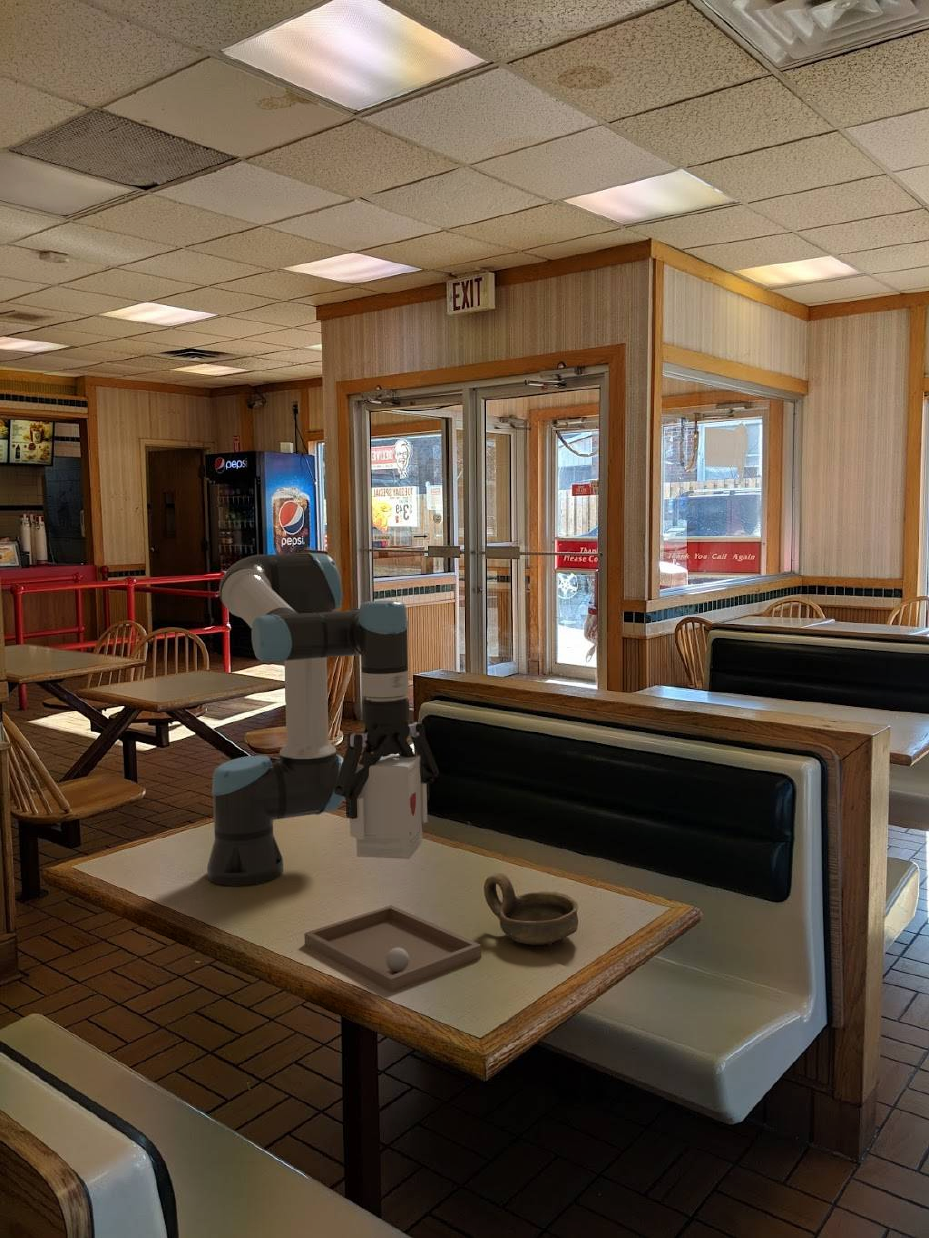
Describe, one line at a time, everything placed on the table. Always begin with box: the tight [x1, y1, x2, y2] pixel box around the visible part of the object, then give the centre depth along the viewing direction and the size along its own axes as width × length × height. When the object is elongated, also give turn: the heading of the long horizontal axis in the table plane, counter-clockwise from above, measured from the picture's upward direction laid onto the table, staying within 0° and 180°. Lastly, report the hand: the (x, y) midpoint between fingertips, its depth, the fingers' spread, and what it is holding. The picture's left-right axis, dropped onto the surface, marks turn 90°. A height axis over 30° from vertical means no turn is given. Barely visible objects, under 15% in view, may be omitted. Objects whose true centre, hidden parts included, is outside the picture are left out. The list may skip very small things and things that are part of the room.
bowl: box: [483, 872, 579, 946], centre depth 170 cm, size 14×18×10 cm
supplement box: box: [355, 754, 423, 860], centre depth 163 cm, size 9×9×15 cm
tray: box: [303, 904, 483, 993], centre depth 165 cm, size 24×18×2 cm
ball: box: [386, 948, 409, 972], centre depth 157 cm, size 4×4×4 cm
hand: (389, 829), depth 164 cm, fingers closed on supplement box, 12 cm apart
